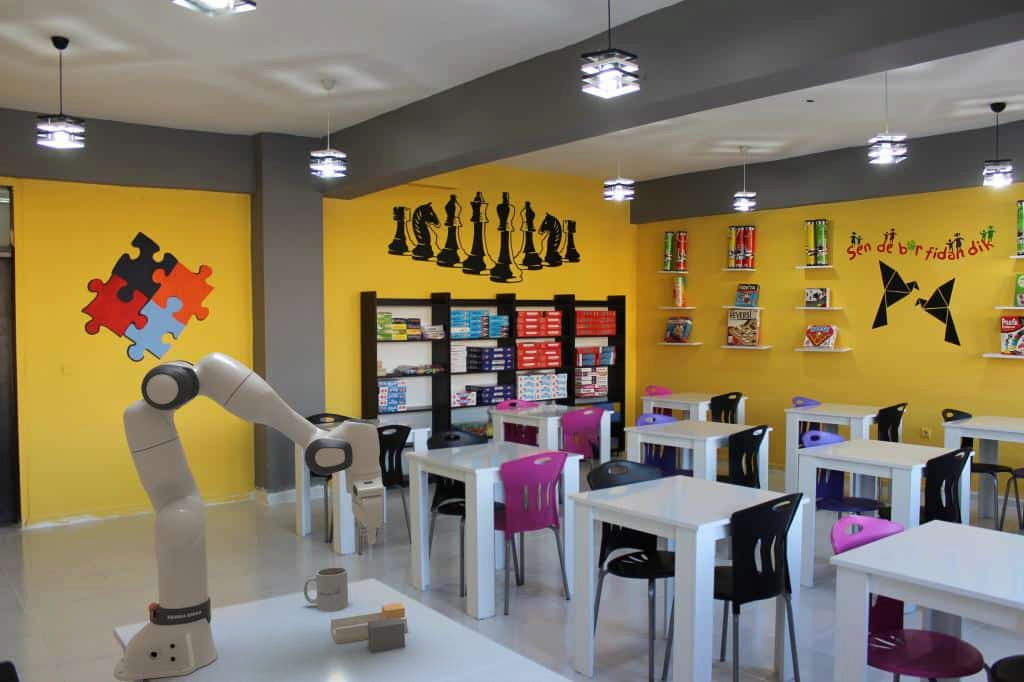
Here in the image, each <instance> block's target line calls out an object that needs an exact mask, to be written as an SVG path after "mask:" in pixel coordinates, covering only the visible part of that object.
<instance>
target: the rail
mask: <svg viewBox="0 0 1024 682" xmlns="http://www.w3.org/2000/svg"><path fill="white" fill-rule="evenodd" d="M405 610H406V608H405V607H404V605H403V604H402V603H401V602H395V603H390V604H382V605H381V610H380V611H373V612H364V613H360V614H352V615H345V616H340V617H331V618H330V633H331V635H332V636H334V637H333V639H334V640H336V641H335V644H336V645H338V644H345V643H350V642H356V641H357V640H358V641H362V640H368V622H369V621H376V620H382V619H389V618H395V617H400V618H401V619H402V621H403V622H404V628H405V634H407V633H409V632H408V618H407V616H406V611H405ZM358 641H357V642H358Z"/></svg>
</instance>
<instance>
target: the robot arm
mask: <svg viewBox="0 0 1024 682" xmlns="http://www.w3.org/2000/svg"><path fill="white" fill-rule="evenodd" d="M140 390H141V395H142V397H143V398H141V399H138V400H136V401H134V402H132V403H131V404H129V405H128V406H127V407H126V408H125V410H124V411H123V414H122V415H123V416H122V419H123V429H124V433H125V438H126V442H127V446H128V449H129V452H130V455H131V459H132V461H133V464H134V466H135V469H136V472H137V475H138V478H139V482H140V483H141V486H142V487H143V489H144V491H145V493H146V495H147V497H148V499H149V501H150V503H151V506H152V508H153V510H154V513H155V516H156V518H155V520H154V523H153V536H154V548H155V559H156V566H157V567H156V568H157V587H158V603H157V602H151V603H150V604H149V605H148V609H147V610H148V612H149V622H148V623H146V624H145V625H144V626H143V627H142V628H141V629H140V630H138V631H137V632H136V633H135V634H134V635H133V636H132V637H131V638H130V639H129V640H128V643H127V645H126V647H125V652H124V655H123V656H124V657H122V658H121V659H119V660H118V661H117V662H116V664H115V665H114V666H115V667H114V669H113V676H114V678H115V679H116V680H117V681H119V682H123V681H124V682H127V681H134V680H135V681H137V680H146V679H157V678H166V677H176V676H178V677H179V676H185V675H189V674H191V673H193V672H194V671H195V670H197V669H200V668H203V667H204V666H207V665H209V664H211V663H212V662H213V661H215V660H216V659H217V658H218V656H219V655H218V652H217V648H216V645H215V642H214V637H213V633H212V626H211V621H212V602H211V601H212V600H211V597H210V596H209V576H208V575H209V574H208V571H209V570H208V557H207V542H206V541H207V540H206V523H207V519H208V511H207V507H206V503H205V502H204V499H203V497H202V493H201V491H200V488H199V486H198V484H197V482H196V479H195V477H194V474H193V472H192V470H191V468H190V465H189V461H188V459H187V456H186V452H185V450H184V448H183V444H182V441H181V438H180V435H179V432H178V430H177V428H176V423H175V418H174V417H175V413H176V411H177V410H179V409H180V408H182V407H184V406H186V405H187V404H189V403H190V402H191V401H193V400H194V399H196V397H198V396H203V397H207V398H209V399H210V400H212V401H213V402H214V403H216V404H217V405H219V406H220V407H221V408H223V409H224V410H226V411H227V413H228V412H229V413H230V414H231V415H233V416H234V417H236V418H238V419H241V420H242V421H245V422H247V423H253V424H259V425H266V426H269V427H272V428H273V429H276V430H277V431H279V432H280V433H281V434H283V435H284V436H286V437H287V438H289V439H290V440H291V441H293V442H294V443H295V444H297V445H298V446H300V447H301V448H302V450H303V451H304V462H305V465H306V466H307V468H308V469H309V471H311V472H313V474H316V475H319V476H329V475H333V474H335V473H338V472H341V471H344V475H345V476H344V477H345V488H346V489H345V490H346V494H350V495H351V511H352V514H353V516H354V517H355V518H356V519H357V523H358V527H359V534H360V535H361V537H367V538H366V539H367V543H368V544H369V545H374V544H377V539H376V538H377V537H376V535H377V530H378V529H377V528H381V527H382V524H383V496H382V495H385V487H384V484H383V477H382V467H381V465H380V455H381V454H380V453H381V449H380V448H381V447H380V439H379V432H378V429H377V427H376V426H377V425H375V424H374V423H373V421H371V420H368V419H363V418H347V419H345V420H344V421H343V422H342V423H340V424H339V425H338V426H336V427H334V428H333V429H329V428H323V427H319V426H317V425H315V424H314V423H312V422H311V421H310V420H308V419H307V418H305V417H304V416H303V415H301V414H300V413H299V412H298V411H296V410H294V409H293V408H292V407H290V406H289V405H288V404H287V403H286V402H285V401H284V400H283V399H282V398H281V396H280V395H279V394H278V393H277V392H276V391H275V390H274V389H273V388H272V387H271V385H270V384H269V383H267V381H265V379H263V378H262V377H261V376H260V375H259V374H257V373H256V372H255V371H253V370H252V369H251V368H249V367H248V366H247V365H245V364H243V363H242V362H240V361H239V360H237V359H235V358H233V357H231V356H230V355H227V354H225V353H223V352H219V351H215V352H211V353H209V354H207V355H205V356H204V357H202V358H201V359H200V361H199V362H198V363H196V364H195V365H194V364H193V363H191V362H190V361H187V360H183V359H180V360H179V359H177V360H169V361H165V362H163V363H160V364H159V365H157V366H154V367H153V368H151V369H149V371H147V373H146V374H145V375H144V377H143V378H142V381H141V385H140Z"/></svg>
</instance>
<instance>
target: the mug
mask: <svg viewBox="0 0 1024 682" xmlns="http://www.w3.org/2000/svg"><path fill="white" fill-rule="evenodd" d="M315 575H316V576H311V577H308V578H307V579H306V580H305V583H304V585H303V596H304V598H305V600H306V601H307V603H310V604H316V607H317V608H316V609H317V610H318V611H320V610H321V612H327V613H328V612H337V611H341V610H344V609H346V608H348V607H349V596H348V595H349V592H348V590H349V589H348V588H349V587H348V569H347V568H345V567H340V566H337V567H335V566H333V567H331V566H330V567H326V568H322V569H319V570H317V571H316V572H315ZM312 581H314V582H316V583H315V584H316V598H314V599H313V598H310V597H309V594H308V585H309V583H310V582H312Z"/></svg>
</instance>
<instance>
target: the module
mask: <svg viewBox="0 0 1024 682" xmlns="http://www.w3.org/2000/svg"><path fill="white" fill-rule="evenodd" d="M405 634H406V633H405V628H404V622H403V621H402V619H401V618H400V617H395V618H389V619H382V620H376V621H369V622H368V639H367V641H368V642H367V643H368V648H369V649H370V651H371V653H373V654H374V653H379V652H384V651H385V650H386V651H390V650H391V651H392V650H396V649H401V648H402V649H403V648H406V635H405Z"/></svg>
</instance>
